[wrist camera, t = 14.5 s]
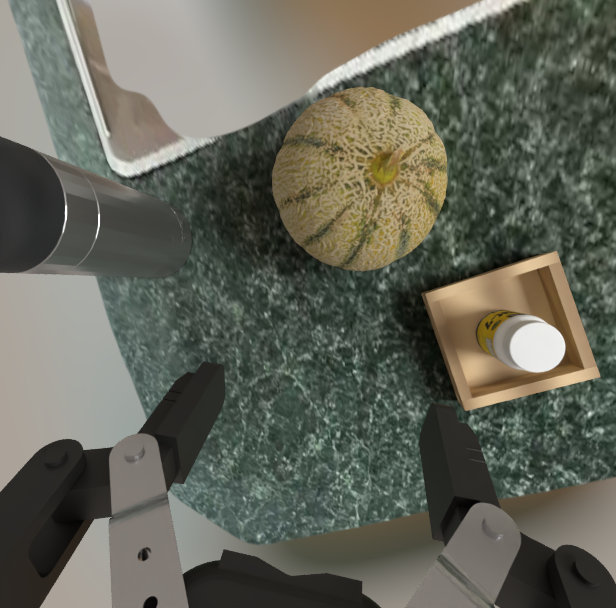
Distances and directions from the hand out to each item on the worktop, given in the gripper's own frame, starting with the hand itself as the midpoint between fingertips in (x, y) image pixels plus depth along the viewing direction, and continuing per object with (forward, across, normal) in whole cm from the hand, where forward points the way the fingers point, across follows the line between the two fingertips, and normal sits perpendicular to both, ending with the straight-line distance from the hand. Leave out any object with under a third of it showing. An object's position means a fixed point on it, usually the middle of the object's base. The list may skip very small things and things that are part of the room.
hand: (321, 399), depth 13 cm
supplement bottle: (+22, -16, +8) cm, 29 cm away
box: (+23, -16, +8) cm, 29 cm away
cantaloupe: (+29, -1, -1) cm, 29 cm away
